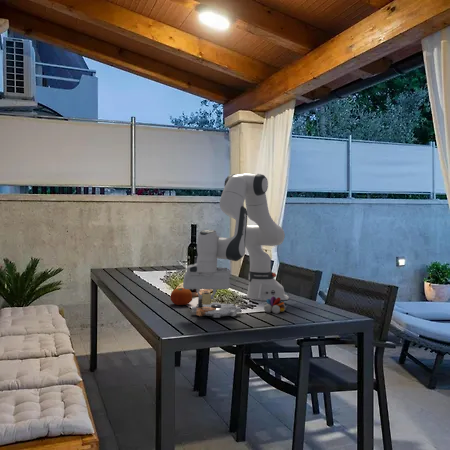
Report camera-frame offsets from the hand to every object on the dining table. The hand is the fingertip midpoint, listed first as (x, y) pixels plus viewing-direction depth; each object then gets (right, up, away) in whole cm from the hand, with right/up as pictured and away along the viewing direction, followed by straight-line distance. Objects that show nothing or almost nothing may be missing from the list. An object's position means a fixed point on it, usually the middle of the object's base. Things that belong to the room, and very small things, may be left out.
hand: (206, 299), depth 207 cm
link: (0, -2, 0) cm, 2 cm away
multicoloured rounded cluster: (+31, -8, +14) cm, 35 cm away
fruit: (-13, -7, +26) cm, 30 cm away
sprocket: (+4, -6, +5) cm, 9 cm away
